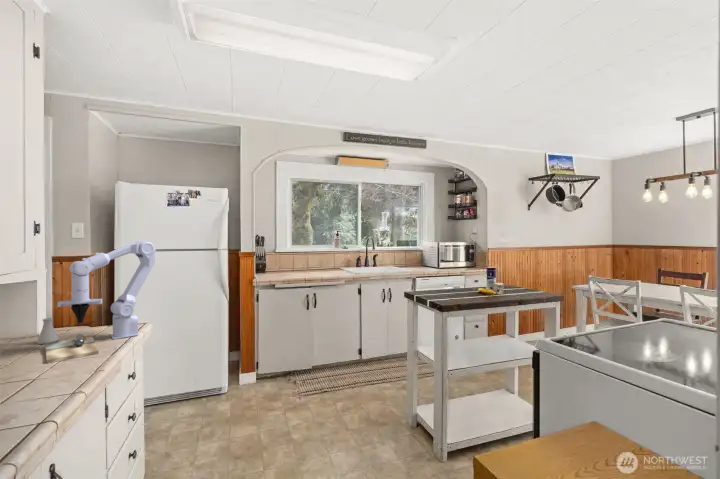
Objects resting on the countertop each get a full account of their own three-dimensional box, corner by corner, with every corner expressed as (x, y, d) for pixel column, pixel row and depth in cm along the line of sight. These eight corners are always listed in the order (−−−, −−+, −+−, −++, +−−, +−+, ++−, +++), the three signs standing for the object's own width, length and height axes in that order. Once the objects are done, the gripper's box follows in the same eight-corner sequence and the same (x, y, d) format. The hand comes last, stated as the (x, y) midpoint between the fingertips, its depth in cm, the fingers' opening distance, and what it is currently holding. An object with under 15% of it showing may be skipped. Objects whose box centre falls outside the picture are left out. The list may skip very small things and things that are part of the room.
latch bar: (84, 344, 140) (84, 340, 140) (74, 345, 138) (74, 341, 138) (84, 337, 148) (84, 333, 148) (74, 338, 146) (74, 334, 146)
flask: (48, 344, 146) (48, 320, 145) (31, 344, 146) (31, 320, 146) (63, 339, 153) (63, 316, 153) (47, 339, 153) (47, 316, 153)
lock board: (91, 340, 152) (91, 331, 151) (98, 353, 135) (98, 343, 135) (45, 348, 141) (45, 338, 141) (46, 363, 125) (46, 352, 125)
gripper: (104, 287, 152) (104, 318, 152) (62, 289, 146) (62, 321, 146) (99, 290, 146) (99, 322, 146) (55, 292, 140) (55, 325, 140)
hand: (80, 322), depth 146 cm, fingers closed
